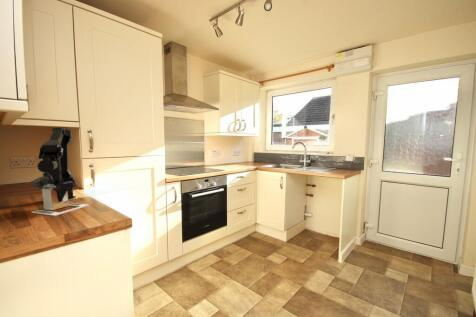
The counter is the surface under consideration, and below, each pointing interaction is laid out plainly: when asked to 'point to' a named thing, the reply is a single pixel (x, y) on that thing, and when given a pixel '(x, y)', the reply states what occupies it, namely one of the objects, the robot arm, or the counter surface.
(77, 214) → the counter surface
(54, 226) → the counter surface
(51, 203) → the small box
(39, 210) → the bracket
